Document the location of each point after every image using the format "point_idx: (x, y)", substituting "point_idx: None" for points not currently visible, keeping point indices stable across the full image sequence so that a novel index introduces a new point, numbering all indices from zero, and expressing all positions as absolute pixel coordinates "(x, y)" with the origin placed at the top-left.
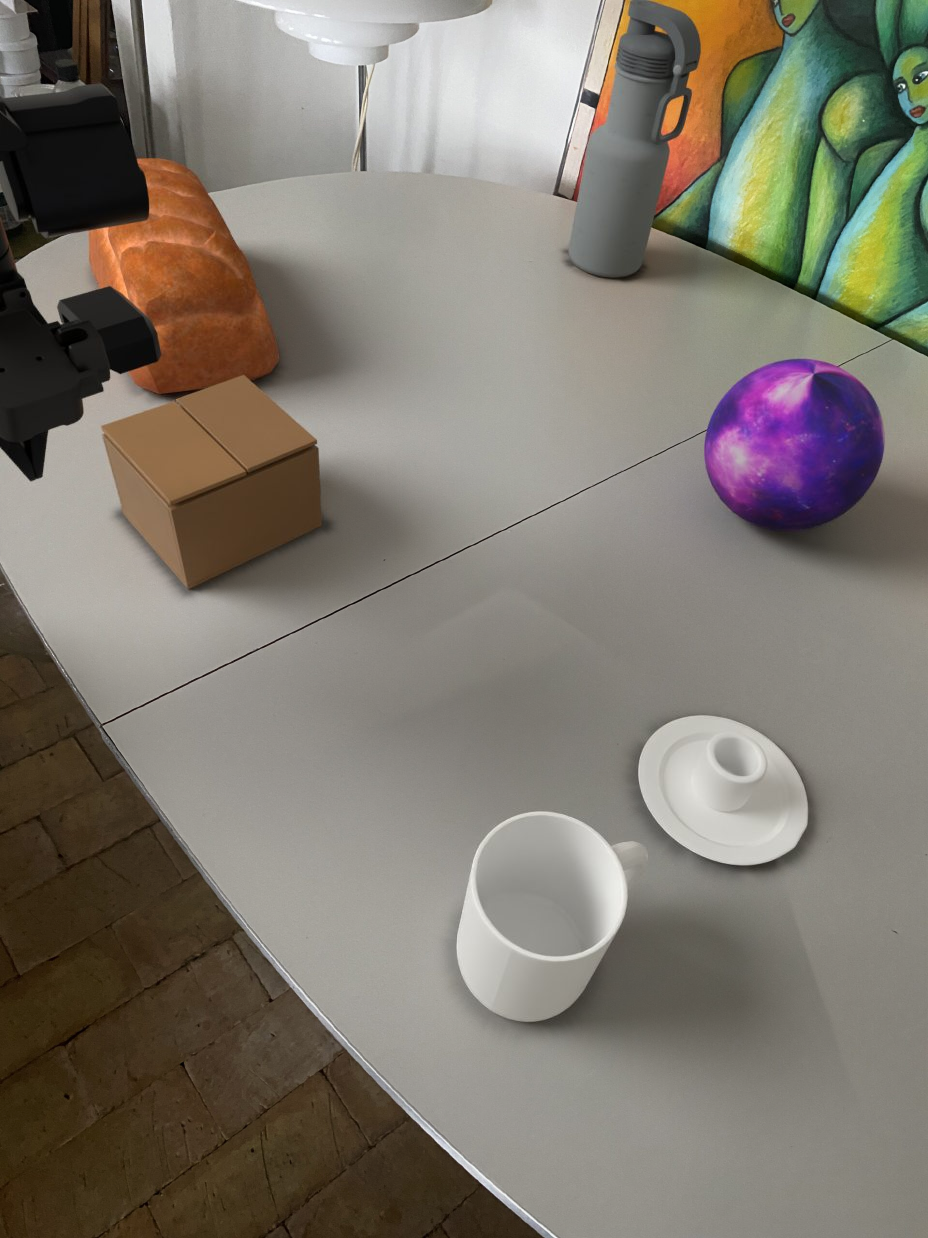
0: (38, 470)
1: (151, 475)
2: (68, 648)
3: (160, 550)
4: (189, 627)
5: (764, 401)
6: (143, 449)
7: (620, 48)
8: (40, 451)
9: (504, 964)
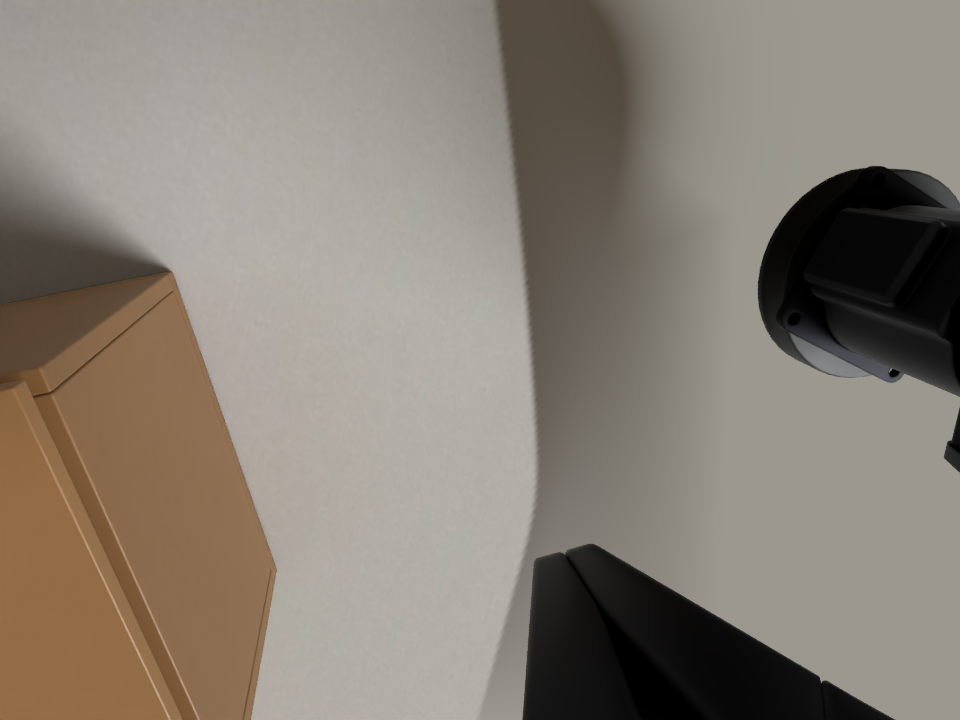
0: (561, 581)
1: (75, 563)
2: (498, 202)
3: (209, 410)
4: (199, 133)
5: None
6: (86, 706)
7: None
8: (561, 679)
9: None
